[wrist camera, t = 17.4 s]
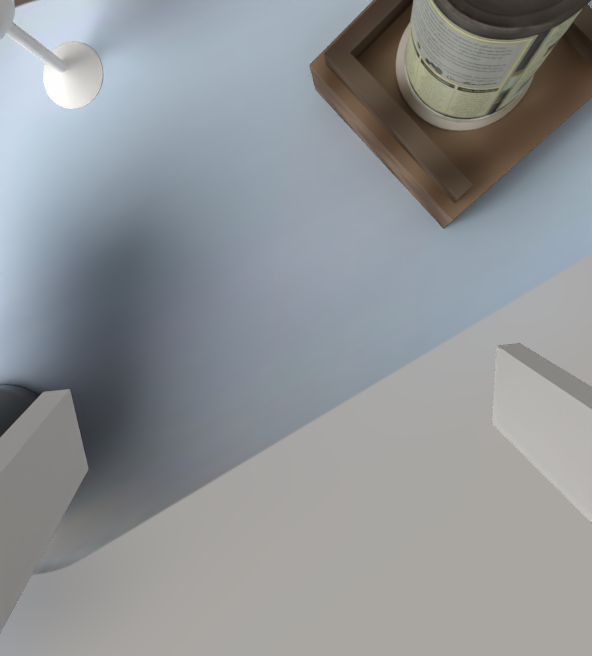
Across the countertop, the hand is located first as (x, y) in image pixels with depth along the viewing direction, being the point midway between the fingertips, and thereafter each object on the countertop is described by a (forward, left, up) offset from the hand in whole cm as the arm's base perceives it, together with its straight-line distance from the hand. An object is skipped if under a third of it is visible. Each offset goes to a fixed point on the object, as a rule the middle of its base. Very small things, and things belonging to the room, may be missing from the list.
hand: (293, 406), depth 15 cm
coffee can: (0, +25, -28) cm, 37 cm away
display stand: (0, +24, -33) cm, 41 cm away
